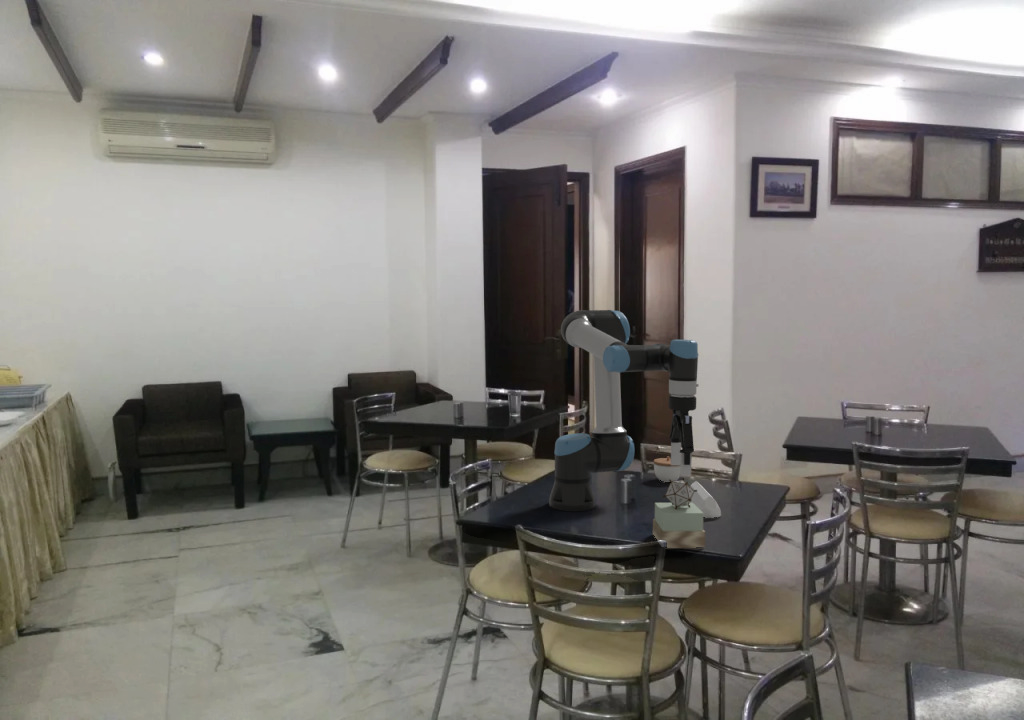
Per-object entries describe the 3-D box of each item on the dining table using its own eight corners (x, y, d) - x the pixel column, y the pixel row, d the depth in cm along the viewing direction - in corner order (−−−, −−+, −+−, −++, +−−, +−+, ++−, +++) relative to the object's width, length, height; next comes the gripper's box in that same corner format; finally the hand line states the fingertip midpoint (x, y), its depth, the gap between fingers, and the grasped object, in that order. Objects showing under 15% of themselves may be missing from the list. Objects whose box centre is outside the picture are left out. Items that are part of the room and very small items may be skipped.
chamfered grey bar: (678, 488, 257) (693, 507, 233) (696, 478, 256) (713, 496, 233) (688, 507, 257) (704, 527, 233) (707, 497, 257) (725, 516, 233)
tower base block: (661, 549, 205) (661, 531, 205) (652, 536, 217) (653, 519, 217) (704, 549, 205) (705, 531, 205) (694, 536, 217) (694, 519, 217)
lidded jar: (648, 478, 288) (649, 454, 287) (674, 477, 290) (675, 453, 290) (660, 485, 277) (661, 459, 277) (687, 483, 280) (687, 458, 279)
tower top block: (662, 531, 205) (663, 513, 205) (654, 519, 216) (654, 502, 216) (703, 531, 205) (703, 513, 205) (692, 519, 216) (693, 502, 216)
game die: (685, 521, 210) (701, 499, 204) (657, 510, 210) (672, 487, 204) (686, 499, 217) (702, 476, 211) (659, 488, 217) (673, 465, 211)
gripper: (707, 401, 196) (704, 481, 198) (686, 389, 221) (684, 460, 223) (678, 401, 196) (676, 481, 198) (660, 389, 221) (659, 460, 223)
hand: (680, 470), depth 210 cm, fingers open, 13 cm apart
